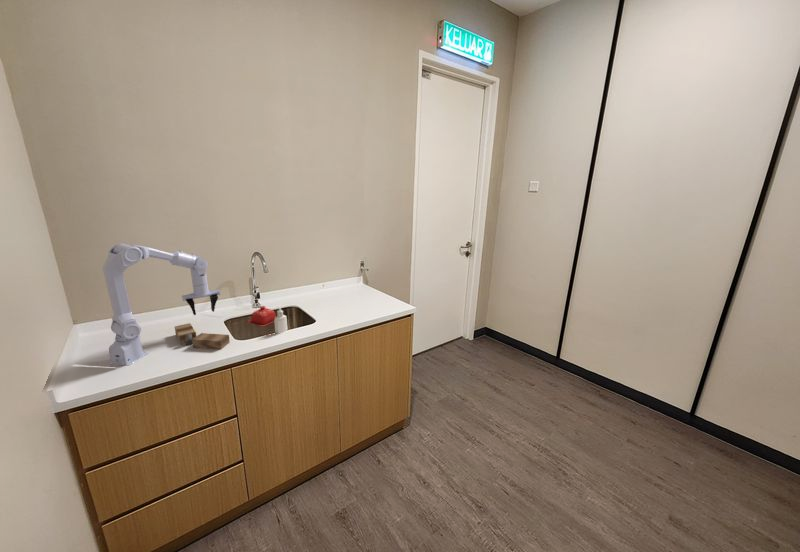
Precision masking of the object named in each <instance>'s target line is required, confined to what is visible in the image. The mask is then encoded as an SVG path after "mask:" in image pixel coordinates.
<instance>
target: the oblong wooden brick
mask: <svg viewBox="0 0 800 552" xmlns="http://www.w3.org/2000/svg"><path fill="white" fill-rule="evenodd" d="M192 343H193V344H192V348H193V349H208V350H222V349H223V348H225V347H226V346H228V345H229V344H230V335H229V334H223V333H221V334H220V333H207V332H206V333H205V332H201V333H200V334H198V335H196V337H195V338H193V339H192Z"/></svg>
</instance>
